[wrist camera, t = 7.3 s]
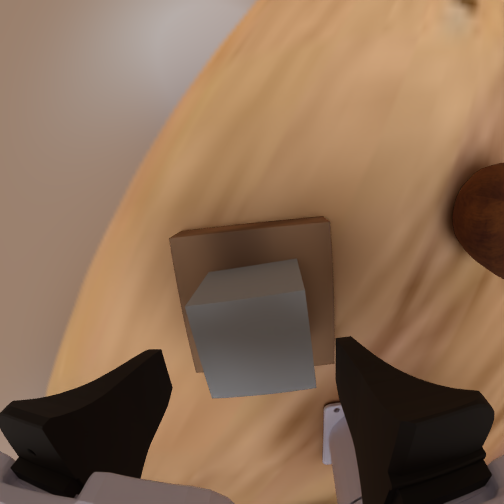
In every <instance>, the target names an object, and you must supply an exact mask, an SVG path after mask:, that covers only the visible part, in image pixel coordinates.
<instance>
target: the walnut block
mask: <svg viewBox="0 0 504 504" xmlns="http://www.w3.org/2000/svg"><path fill="white" fill-rule="evenodd" d="M169 241H170V247H171V253H172V259H173V265H174V271H175V276H176V281H177V287H178V292H179V297H180V302H181V307H182V312H183V317H184V322H185V326H186V331H187V336H188V340H189V345H190V349H191V353H192V358H193V362H194V366H195V370H196V373H201V372H204V371H203V368H202V365H201V361H200V358H199V355H198V351H197V348H196V345H195V341H194V338H193V334H192V331H191V327H190V324H189V320H188V316H187V313H186V309H185V306H186V304H187V303H188V301H189V300H190V298H191V297H192V296H193V294H194V293H195V291H196V290H197V288H198V287H199V285H200V284H201V283H202V281H203V280H204V278H205V277H206V275H207V274H208V273H209V272H214V271H220V270H227V269H233V268H240V267H246V266H252V265H259V264H265V263H272V262H278V261H284V260H290V259H297V261H298V265H299V269H300V273H301V277H302V281H303V285H304V289H305V295H306V303H307V311H308V318H309V326H310V335H311V343H312V352H313V361H314V366H318V365H327V364H334V347H335V338H334V286H333V262H332V244H331V228H330V221H328V220H327V219H326V218H324V217H311V218H300V219H290V220H279V221H269V222H259V223H249V224H240V225H231V226H221V227H212V228H204V229H195V230H186V231H181V232H179V233H177V234H176V235H174V236H172V237H171V238H169Z"/></svg>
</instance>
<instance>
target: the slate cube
mask: <svg viewBox="0 0 504 504" xmlns="http://www.w3.org/2000/svg"><path fill="white" fill-rule="evenodd" d="M185 309H186V313H187V316H188V320H189V324H190V327H191V331H192V334H193V338H194V341H195V345H196V348H197V351H198V355H199V358H200V361H201V365H202V368H203V371H204V374H205V377H206V380H207V384H208V387H209V390H210V393H211V396H212V398H229V397H243V396H254V395H265V394H274V393H282V392H290V391H298V390H305V389H312V388H316V380H315V370H314V361H313V352H312V343H311V335H310V326H309V318H308V311H307V303H306V295H305V289H304V285H303V281H302V277H301V273H300V269H299V265H298V261H297V259H290V260H284V261H278V262H272V263H265V264H259V265H252V266H246V267H240V268H233V269H227V270H220V271H214V272H209V273H208V274H207V275H206V277H205V278H204V280H203V281H202V283H201V284H200V285H199V287H198V288H197V290H196V291H195V293H194V294H193V296H192V297H191V298H190V300H189V301H188V303H187V304H186V306H185Z"/></svg>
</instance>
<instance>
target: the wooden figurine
mask: <svg viewBox="0 0 504 504" xmlns="http://www.w3.org/2000/svg"><path fill="white" fill-rule="evenodd" d="M452 222H453V227H454V232H455V235H456V237H457V239H458V241H459V242H460V244H461V245H462V246H463V248H464V249H465V250H466V251H467V253H468V254H469V255H470V256H471V257H472V258H473V259H475V260H476V261H477V262H478V263H480V264H481V265H482V266H484V267H485V268H486V269H488V270H489V271H491V272H492V273H494V274H495V275H497V276H499V277H501V278H502V279H504V163H499V164H495V165H491V166H488V167H485V168H483V169H480V170H479V171H477V172H476V173H475V174H473V176H472V177H471V178H470V179H469V180H468V181H467V182H466V183H465V184H464V185H463V186H462V188H461V190H460V192H459V194H458V195H457V198H456V202H455V205H454V209H453V219H452Z"/></svg>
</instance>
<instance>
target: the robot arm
mask: <svg viewBox="0 0 504 504" xmlns="http://www.w3.org/2000/svg"><path fill="white" fill-rule="evenodd" d="M336 384H337V390H338V395H339V400H340V403H334V404H328V405H326V406H325V407H324V424H323V459H322V460H323V463H324V464H332V468H333V475H334V482H335V489H336V496H337V503H338V504H504V455H502V456H500V457H498V458H496V459H495V460H493V461H492V462H491V463H490V464H489V465H488V466H487V465H486V463H485V461H484V460H483V459H485V457H486V453H485V451H484V449H483V448H482V446H483V444H484V442H485V440H486V438H487V436H488V434H489V432H490V429H491V427H492V424H493V421H494V410H493V408H492V407H491V405H490V404H489V403H488V401H487V400H486V399H485V398H484V396H483V395H482V394H481V393H480V392H479V391H474V390H463V389H455V388H450V387H445V386H440V385H436V384H433V383H429V382H426V381H424V380H421V379H418V378H415V377H413V376H410V375H408V374H406V373H404V372H402V371H400V370H398V369H396V368H394V367H393V366H391V365H389V364H388V363H386V362H384V361H383V360H381V359H380V358H378V357H377V356H375V355H374V354H373V353H371V352H370V351H369V350H367V349H366V348H365V347H364V346H362V345H361V344H360V343H359V342H357V341H356V340H355V339H354V338H352V337H351V336H349V337H341V338H336ZM172 388H173V387H172V384H171V381H170V378H169V374H168V371H167V368H166V364H165V361H164V357H163V354H162V350H161V349H149V350H146V351H144V352H142V353H141V354H139V355H137V356H136V357H134V358H132V359H131V360H129V361H127V362H126V363H124V364H122V365H121V366H119V367H118V368H116V369H114V370H112V371H111V372H109V373H107V374H105V375H103V376H102V377H100V378H98V379H96V380H94V381H92V382H90V383H88V384H85V385H83V386H80V387H78V388H75V389H72V390H69V391H66V392H63V393H60V394H56V395H52V396H48V397H43V398H37V399H30V400H19V401H12V402H11V403H10V404H9V405H8V406H7V407H6V408H5V409H4V410H3V411H2V412H1V413H0V429H1V431H2V432H3V434H4V436H5V437H6V439H7V440H8V442H9V443H10V445H11V446H12V447H13V449H14V450H15V452H16V453H17V455H18V456H19V458H18V459H17V460H16V461H15V460H14V459H13V458H11V457H10V456H8V455H6V454H4V453H2V452H1V451H0V504H234V503H233V502H232V501H231V500H230V499H229V498H228V497H226V496H224V495H221V494H219V493H217V492H215V491H212V490H209V489H204V488H199V487H194V486H189V485H179V484H171V483H164V482H157V481H151V480H145V479H140V478H141V474H142V470H143V466H144V463H145V459H146V456H147V452H148V449H149V447H150V444H151V442H152V440H153V438H154V435H155V433H156V431H157V429H158V427H159V424H160V422H161V420H162V418H163V416H164V413H165V411H166V409H167V406H168V403H169V400H170V396H171V392H172ZM335 408H338V409H336V410H334V409H335Z"/></svg>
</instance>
